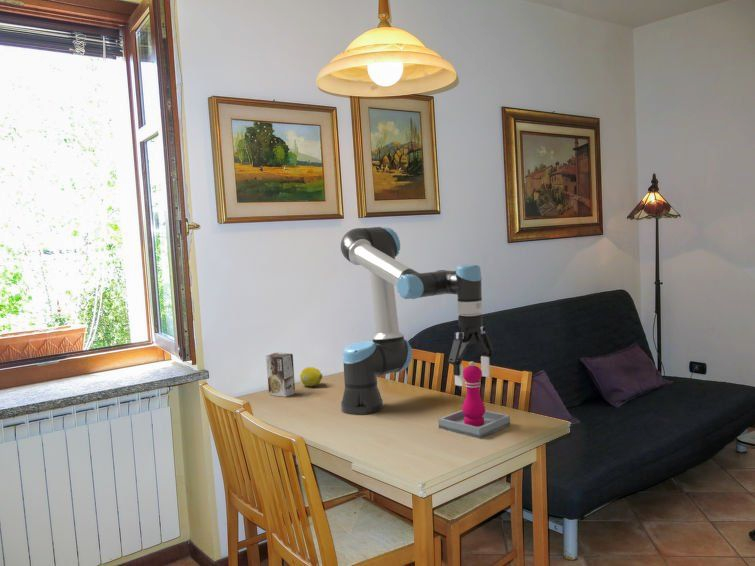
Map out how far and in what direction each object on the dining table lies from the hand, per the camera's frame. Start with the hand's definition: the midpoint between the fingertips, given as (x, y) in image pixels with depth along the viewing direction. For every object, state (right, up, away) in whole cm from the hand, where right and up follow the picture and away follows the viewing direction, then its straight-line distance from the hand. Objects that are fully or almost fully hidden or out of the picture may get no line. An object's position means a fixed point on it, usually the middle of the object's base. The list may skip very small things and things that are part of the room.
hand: (472, 381), depth 196 cm
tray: (+1, -15, +1) cm, 15 cm away
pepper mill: (+1, -14, +1) cm, 14 cm away
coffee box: (-68, -14, +53) cm, 87 cm away
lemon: (-57, -12, +63) cm, 86 cm away
